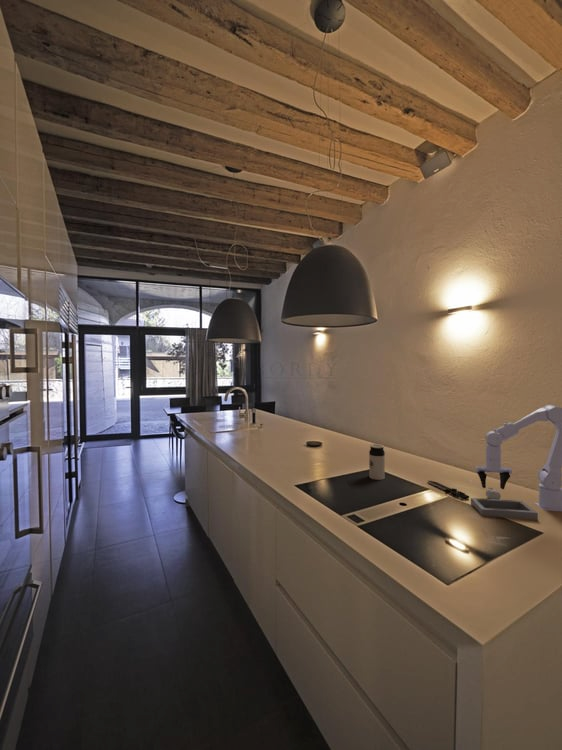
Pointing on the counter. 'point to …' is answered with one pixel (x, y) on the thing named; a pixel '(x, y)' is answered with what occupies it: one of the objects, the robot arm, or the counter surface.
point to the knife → (453, 491)
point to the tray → (504, 508)
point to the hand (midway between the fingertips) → (492, 488)
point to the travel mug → (376, 462)
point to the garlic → (492, 494)
